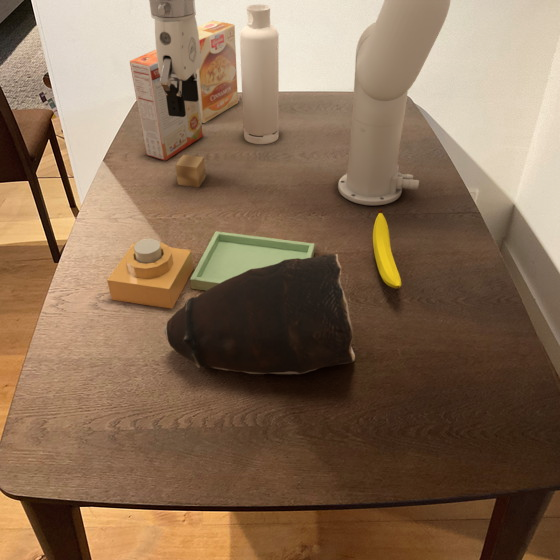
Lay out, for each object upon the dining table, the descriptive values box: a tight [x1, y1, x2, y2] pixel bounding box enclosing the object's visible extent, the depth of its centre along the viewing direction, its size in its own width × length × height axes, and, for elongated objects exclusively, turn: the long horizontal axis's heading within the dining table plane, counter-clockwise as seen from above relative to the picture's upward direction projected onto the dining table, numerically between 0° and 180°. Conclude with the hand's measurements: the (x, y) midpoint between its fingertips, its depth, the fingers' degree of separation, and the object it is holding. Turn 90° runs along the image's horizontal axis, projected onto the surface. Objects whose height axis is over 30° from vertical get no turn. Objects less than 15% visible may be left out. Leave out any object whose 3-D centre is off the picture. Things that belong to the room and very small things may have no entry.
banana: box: [372, 208, 402, 289], centre depth 93 cm, size 3×19×6 cm, turn 1°
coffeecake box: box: [196, 20, 239, 124], centre depth 140 cm, size 15×7×20 cm, turn 149°
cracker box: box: [129, 49, 204, 161], centre depth 124 cm, size 14×6×21 cm, turn 149°
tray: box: [189, 230, 316, 292], centre depth 95 cm, size 18×14×2 cm
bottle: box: [239, 4, 280, 145], centre depth 126 cm, size 8×8×28 cm
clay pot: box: [164, 253, 356, 375], centre depth 78 cm, size 15×15×25 cm
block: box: [175, 154, 207, 188], centre depth 117 cm, size 4×4×4 cm
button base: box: [106, 241, 195, 310], centre depth 91 cm, size 10×10×6 cm
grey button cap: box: [134, 238, 162, 264], centre depth 89 cm, size 4×4×2 cm
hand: (183, 107), depth 109 cm, fingers open, 6 cm apart
